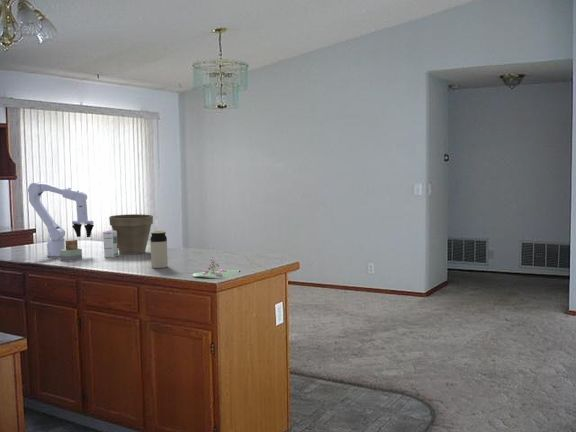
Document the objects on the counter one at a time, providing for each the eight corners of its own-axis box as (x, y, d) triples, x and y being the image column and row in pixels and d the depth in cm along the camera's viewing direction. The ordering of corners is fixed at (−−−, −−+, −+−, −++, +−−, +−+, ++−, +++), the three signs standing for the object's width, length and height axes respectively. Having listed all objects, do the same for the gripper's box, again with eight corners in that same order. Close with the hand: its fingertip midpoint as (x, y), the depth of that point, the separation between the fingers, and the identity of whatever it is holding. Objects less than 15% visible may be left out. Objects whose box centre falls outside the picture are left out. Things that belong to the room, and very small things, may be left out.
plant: (217, 269, 309) (216, 251, 308) (251, 272, 298) (251, 253, 297) (182, 277, 288) (182, 258, 287) (218, 281, 277) (217, 261, 276)
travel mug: (168, 267, 313) (167, 231, 311) (152, 269, 310) (150, 232, 309) (166, 265, 320) (165, 230, 319) (150, 266, 318) (149, 231, 316)
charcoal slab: (60, 261, 346) (60, 255, 346) (71, 258, 353) (71, 253, 353) (71, 261, 342) (71, 256, 342) (82, 259, 349) (81, 254, 349)
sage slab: (60, 255, 346) (60, 249, 346) (72, 253, 353) (72, 248, 353) (69, 256, 342) (69, 250, 342) (82, 254, 348) (81, 249, 348)
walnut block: (65, 249, 346) (65, 240, 346) (70, 248, 350) (70, 239, 350) (72, 250, 345) (72, 240, 344) (77, 248, 349) (77, 239, 349)
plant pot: (161, 252, 366) (159, 215, 364) (119, 257, 352) (118, 218, 350) (144, 248, 387) (143, 213, 385) (104, 252, 373) (103, 215, 371)
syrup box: (113, 257, 353) (112, 231, 351) (103, 257, 354) (102, 231, 353) (118, 255, 358) (117, 230, 357) (108, 255, 359) (107, 230, 358)
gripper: (96, 212, 362) (98, 236, 363) (77, 212, 369) (79, 235, 370) (87, 213, 356) (89, 237, 357) (68, 213, 362) (70, 237, 364)
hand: (83, 236), depth 363 cm, fingers open, 7 cm apart
